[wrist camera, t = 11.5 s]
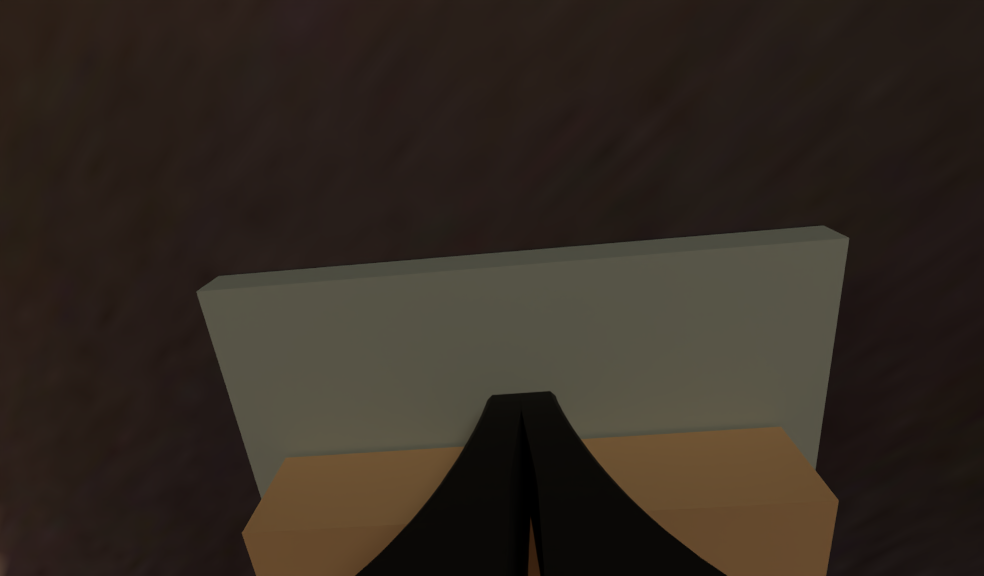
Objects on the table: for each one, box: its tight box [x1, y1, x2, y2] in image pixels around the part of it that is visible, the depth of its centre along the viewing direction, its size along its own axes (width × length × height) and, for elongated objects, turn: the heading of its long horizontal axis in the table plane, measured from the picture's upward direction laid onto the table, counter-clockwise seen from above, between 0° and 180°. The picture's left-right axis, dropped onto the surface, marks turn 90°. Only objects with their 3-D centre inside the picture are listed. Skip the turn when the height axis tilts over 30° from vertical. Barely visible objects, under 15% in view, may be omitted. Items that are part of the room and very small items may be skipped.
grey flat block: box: [197, 226, 849, 499], centre depth 14 cm, size 16×14×4 cm
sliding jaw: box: [242, 427, 839, 576], centre depth 13 cm, size 4×12×2 cm, turn 96°
